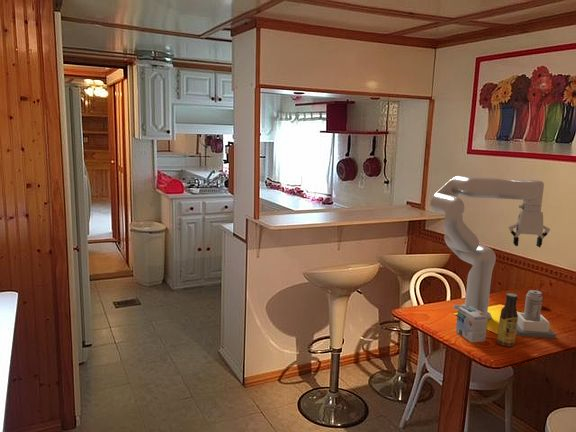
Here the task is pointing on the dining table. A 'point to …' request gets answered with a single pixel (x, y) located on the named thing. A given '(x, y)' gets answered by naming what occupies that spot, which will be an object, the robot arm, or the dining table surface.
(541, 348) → the dining table surface
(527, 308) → the energy drink can
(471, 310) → the light bulb box
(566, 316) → the dining table surface
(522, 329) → the board
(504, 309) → the sauce bottle
